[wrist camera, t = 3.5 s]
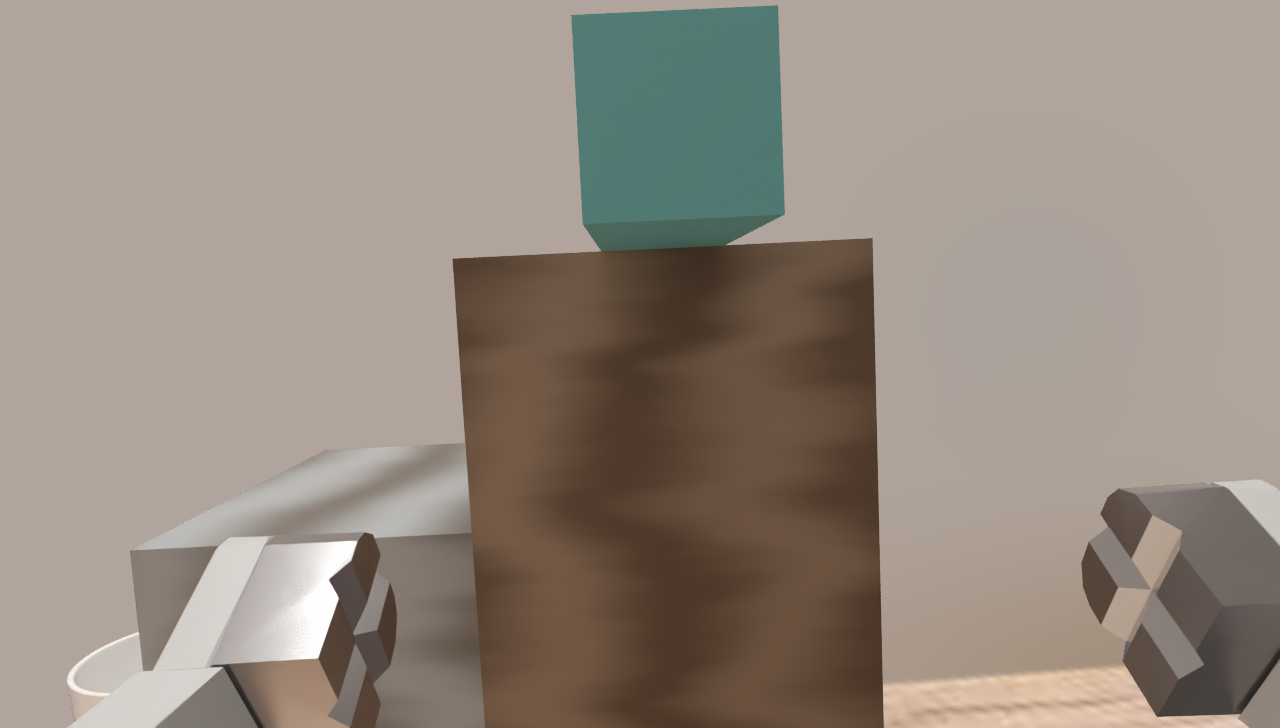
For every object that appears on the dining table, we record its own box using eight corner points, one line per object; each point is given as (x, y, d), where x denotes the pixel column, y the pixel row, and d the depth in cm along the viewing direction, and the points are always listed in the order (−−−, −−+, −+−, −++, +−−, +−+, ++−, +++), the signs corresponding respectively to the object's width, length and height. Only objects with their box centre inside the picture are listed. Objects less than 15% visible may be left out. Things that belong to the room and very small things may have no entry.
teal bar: (686, 264, 38) (683, 189, 37) (784, 213, 14) (778, 5, 14) (613, 268, 38) (609, 193, 37) (583, 224, 14) (571, 15, 14)
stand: (794, 781, 40) (776, 260, 38) (891, 1071, 25) (872, 238, 23) (355, 805, 40) (311, 283, 38) (190, 1111, 25) (100, 275, 23)
